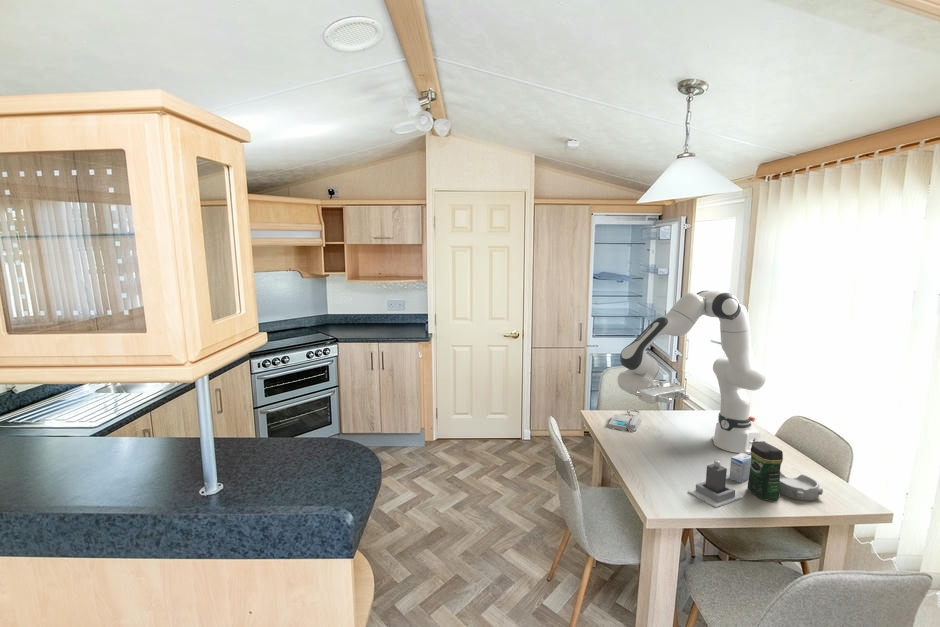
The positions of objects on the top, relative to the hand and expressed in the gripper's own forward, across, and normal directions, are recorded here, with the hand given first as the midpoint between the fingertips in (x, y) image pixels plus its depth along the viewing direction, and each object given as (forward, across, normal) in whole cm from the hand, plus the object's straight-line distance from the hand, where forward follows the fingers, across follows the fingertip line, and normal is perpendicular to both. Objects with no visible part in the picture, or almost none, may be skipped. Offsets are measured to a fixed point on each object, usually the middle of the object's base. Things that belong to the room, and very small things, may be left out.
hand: (679, 399), depth 172 cm
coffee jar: (+24, +16, +30) cm, 42 cm away
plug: (+17, 0, +29) cm, 34 cm away
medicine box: (+13, +20, +30) cm, 39 cm away
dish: (+28, +28, +30) cm, 50 cm away
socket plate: (+17, 0, +30) cm, 35 cm away
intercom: (-49, +23, +30) cm, 62 cm away
